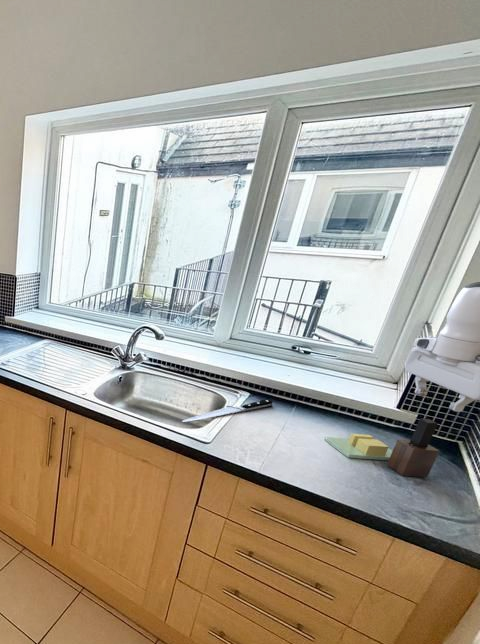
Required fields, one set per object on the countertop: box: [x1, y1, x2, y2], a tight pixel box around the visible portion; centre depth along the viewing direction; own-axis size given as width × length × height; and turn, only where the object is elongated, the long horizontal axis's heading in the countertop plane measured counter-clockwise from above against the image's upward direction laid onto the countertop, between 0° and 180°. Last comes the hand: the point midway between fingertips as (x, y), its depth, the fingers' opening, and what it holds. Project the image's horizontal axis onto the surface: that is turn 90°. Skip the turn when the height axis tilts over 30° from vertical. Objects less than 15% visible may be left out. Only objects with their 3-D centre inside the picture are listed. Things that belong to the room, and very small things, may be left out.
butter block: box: [355, 438, 390, 456], centre depth 118 cm, size 5×4×3 cm
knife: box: [410, 418, 439, 448], centre depth 109 cm, size 4×2×15 cm
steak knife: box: [181, 399, 273, 423], centre depth 143 cm, size 5×41×2 cm, turn 109°
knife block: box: [386, 439, 440, 478], centre depth 110 cm, size 6×5×8 cm
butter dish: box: [323, 436, 393, 461], centre depth 121 cm, size 14×10×1 cm
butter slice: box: [348, 433, 375, 445], centre depth 122 cm, size 5×2×3 cm, turn 83°
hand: (436, 402), depth 105 cm, fingers open, 8 cm apart
